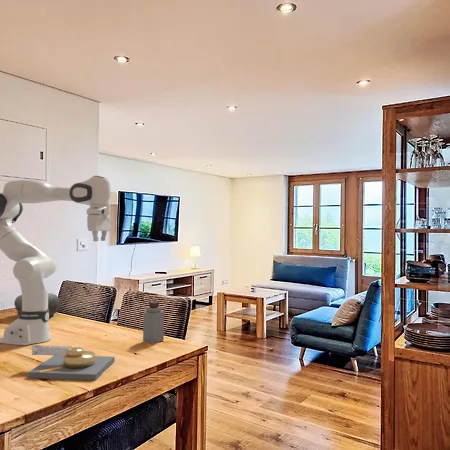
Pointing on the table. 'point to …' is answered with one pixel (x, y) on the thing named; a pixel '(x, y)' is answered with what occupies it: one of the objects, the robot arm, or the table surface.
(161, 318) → the perfume bottle
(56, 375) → the stand plate
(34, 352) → the dial
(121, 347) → the table surface
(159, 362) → the table surface
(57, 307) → the gourd
